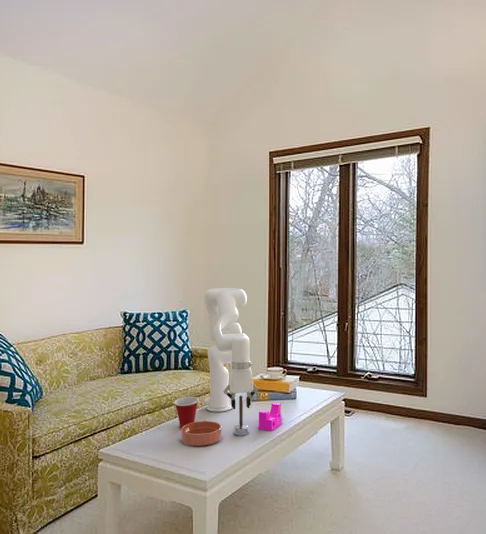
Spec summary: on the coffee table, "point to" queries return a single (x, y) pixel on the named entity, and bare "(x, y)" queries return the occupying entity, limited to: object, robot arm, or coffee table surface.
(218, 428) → the bowl
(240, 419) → the meat pounder
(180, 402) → the plastic cup
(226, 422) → the coffee table surface
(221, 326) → the robot arm
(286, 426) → the coffee table surface
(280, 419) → the toy block
